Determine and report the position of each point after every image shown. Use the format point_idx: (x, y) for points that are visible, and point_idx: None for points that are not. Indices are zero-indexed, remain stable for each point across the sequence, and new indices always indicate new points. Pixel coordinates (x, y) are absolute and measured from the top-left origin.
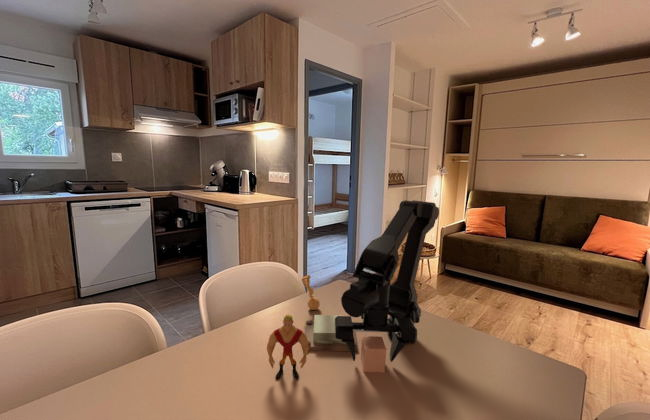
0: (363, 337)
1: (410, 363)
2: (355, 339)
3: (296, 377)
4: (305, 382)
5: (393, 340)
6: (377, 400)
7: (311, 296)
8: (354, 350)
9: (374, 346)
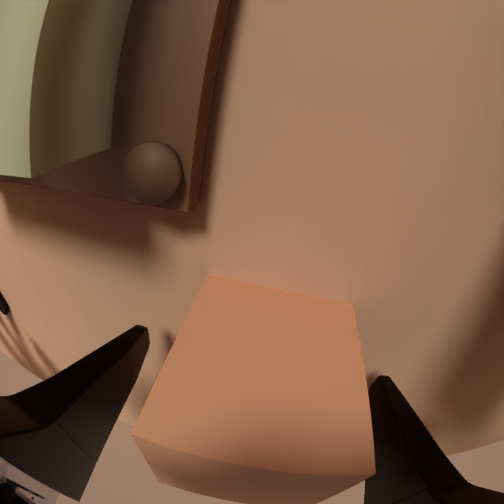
0: (151, 446)
1: (466, 353)
2: (197, 75)
3: (3, 313)
4: (26, 328)
5: (405, 500)
6: None
7: None
8: (106, 434)
9: (232, 496)
